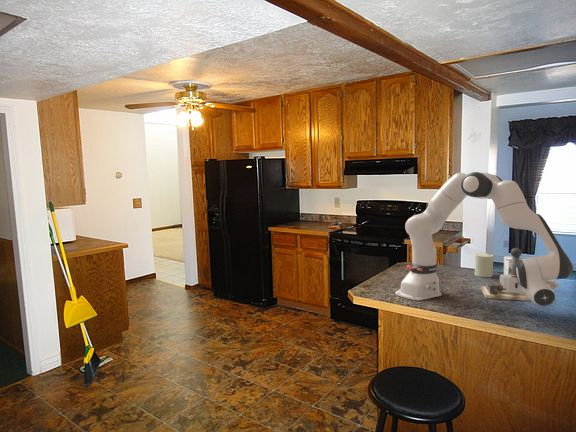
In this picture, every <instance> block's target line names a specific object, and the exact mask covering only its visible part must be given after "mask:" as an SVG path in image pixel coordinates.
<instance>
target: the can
mask: <svg viewBox="0 0 576 432" xmlns="http://www.w3.org/2000/svg"><path fill="white" fill-rule="evenodd" d="M474 258H475V259H474V260H475V261H474V275H475V276H477V277H480V278H491V277H493V276H494V274H493V273H494V272H493V271H494V269H493V268H494V255H493V254H490V253H485V252H477V253H475V257H474Z"/></svg>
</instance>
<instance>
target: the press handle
mask: <svg viewBox="0 0 576 432" xmlns="http://www.w3.org/2000/svg"><path fill="white" fill-rule="evenodd" d="M510 256H512V271H511V274H512V275H516V274H515V267H516V264H517V263H518V261H519V259H521V256H522V250H521V249H520V248H519V247H514V248H512V249H511V250H510ZM506 290H507V288H506ZM507 291H508V290H507ZM508 292H509V291H508Z"/></svg>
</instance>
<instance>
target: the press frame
mask: <svg viewBox="0 0 576 432" xmlns="http://www.w3.org/2000/svg"><path fill="white" fill-rule="evenodd" d="M480 291H481V292H482V294H483V295H484V297H485V298H486V299H494V300H509V301H510V300H512V301H529V302H532V301H531V300H529V299H528V297H527V296H525V295H522V294H518V293H513V292H508V291H507V290H506V288H505V287H503V286H502V285H501V284H500V283H496V282H495V281H494V280H493V279H485V285H481V286H480Z"/></svg>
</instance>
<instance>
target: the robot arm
mask: <svg viewBox="0 0 576 432" xmlns="http://www.w3.org/2000/svg"><path fill="white" fill-rule="evenodd" d="M467 196H469V197H470V198H474V199H475V198H476V199H481V200H483V199H489V200H492V202H493V205H494V206H495V211H496V213H497V216H498V219H499V220H500V222H501V223H502V224H503V225H504V226H506V227H509V228H512V229H514V230H515V229H516V230H525V231H526V230H528V231H530V232H534V233H535V234H537V235H538V236H539V238H540V239H541V241H542V243H543V245H544V246H545V248H546V249H547V252H548V253H547V254H543V255H538V256H531V257H527V258H520V260H519V261H518V263H517V264H516V267H515V274H516V275H512V274H508V275H503V274H500V276H499V284H501V285H502V286H503V287H505V288H507V290H508V291H509V292H513V293H518V294H522V295H525V296H527V297H528V299H529V300H531V301H530V302H532V303H533V304H534V305H536V306H539V307H547V306H550V305H551V304H553V303H554V302H555V300H556V293H555V289H556V288H560V284H559V283H556V282H557V281H556V280H564V279H566V280H567V279H568V278H569V277H570V276H571V275H572V273H573V271H574V266H573V262H572V261H571V259H570V257H568V255H567V253H566V252H565V251H564V249H563V247H562V246H561V245H560V243H559V241H558V238H557V237H556V236H555V234H554V233H553V231H552V229H551V228H550V226H549V225H548V223H547V221H546V220H545V218H544V217H543V216H542V215H541V214H539V213H535V212H534V211H533V210H532V209H531V208H530V207H529V205H528V203H527V200H526V198H525V196H524V193H523V191H522V189H521V188H520V187H519V184H518V183H517V182H516V181H514V180H510V179H508V180H505V179H504V180H503V179H502V178H501V177H499V176H498V175H495V174H492V173H489V172H478V171H473V172H469V173H468V174H466V173H464V172H456V173H455V174H454V175H452V176H451V177H450V178H449V179H448V180H446V181H445V182H444V183H443V185H441V187H440V188H439V189H438V190H437V191H436V192H435V194H433V196H432V197H431V199H430V200H429V204H428V206H427V207H426V209H425V210H424V211H423V212H421V213H418V214H413V215H412V216H411V217H409V218H408V219H407V220H406V222H405V225H404V227H405V228H404V229H405V231H406V233H407V235H408V236H409V238H410V239H409V240H410V243H411V253H412V254H411V255H412V256H411V258H412V260H411V261H412V262H411V263H410V265H409V264H407V265H406V270H409V272H408V273H407V274H406V276H405V277H404V278H403V279H402V280H401V283H400V288H399V289H398V290H396V291H395V295H396V296H397V297H398V296H399V297H401V298H403V299H408V300H412V301H423V300H429V299H432V298H435V297H436V298H437V297H441V296H442V292H440V282H439V281H440V280H439V277H438V274H437V270H438V265H437V248H436V246H435V243H434V240H433V235H434V234H436V233H438V232H439V231H440V230H441V229H442V228H443V227H444V224H445V223H446V221H447V220H448V218H449V217H450V215H451V214H452V213H453V212H454V210H456V208H457V207H459V205H461V203H462V202H463V201H464V200H465V198H467Z"/></svg>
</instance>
